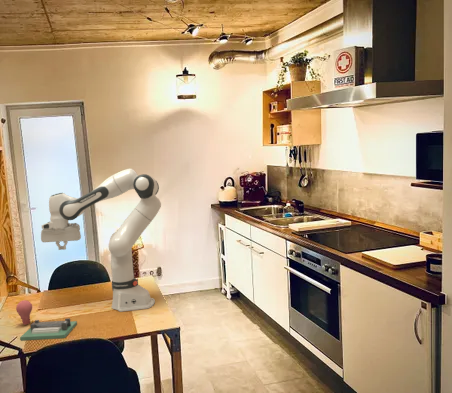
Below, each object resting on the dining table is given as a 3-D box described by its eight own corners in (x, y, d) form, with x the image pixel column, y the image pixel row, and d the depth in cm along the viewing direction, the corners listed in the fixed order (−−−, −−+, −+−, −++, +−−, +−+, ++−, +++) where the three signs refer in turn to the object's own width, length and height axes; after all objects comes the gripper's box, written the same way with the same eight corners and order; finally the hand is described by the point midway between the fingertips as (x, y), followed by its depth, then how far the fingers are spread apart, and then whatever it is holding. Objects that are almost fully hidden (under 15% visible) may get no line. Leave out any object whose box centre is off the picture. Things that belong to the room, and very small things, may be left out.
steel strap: (69, 323, 213) (68, 319, 212) (66, 325, 210) (66, 322, 209) (33, 325, 213) (32, 321, 213) (30, 327, 210) (30, 324, 210)
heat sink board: (77, 324, 219) (76, 314, 219) (64, 338, 203) (63, 327, 203) (35, 326, 220) (34, 316, 219) (20, 340, 204) (19, 329, 203)
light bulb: (18, 328, 218) (15, 304, 217) (18, 323, 225) (15, 300, 223) (34, 325, 221) (31, 301, 220) (34, 320, 227) (31, 297, 226)
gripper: (81, 221, 244) (83, 247, 246) (43, 223, 245) (46, 249, 246) (77, 223, 238) (79, 249, 240) (38, 225, 239) (41, 251, 240)
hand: (62, 249), depth 243 cm, fingers closed
